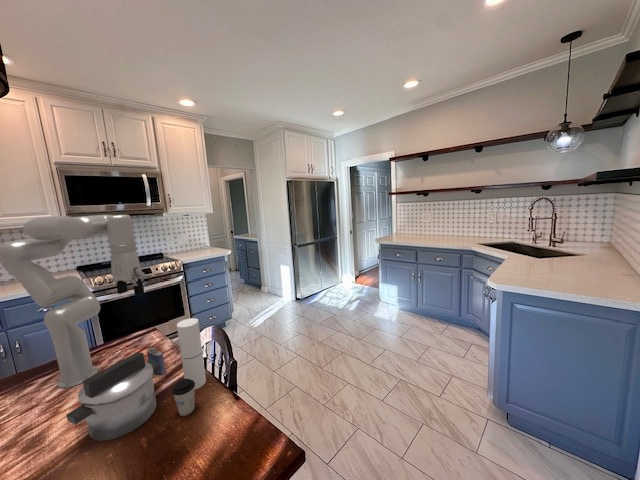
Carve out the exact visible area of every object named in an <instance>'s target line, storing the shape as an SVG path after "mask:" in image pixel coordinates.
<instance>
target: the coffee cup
mask: <svg viewBox="0 0 640 480" xmlns="http://www.w3.org/2000/svg"><path fill="white" fill-rule="evenodd" d="M195 391H196V389H195V382H194V381H193V380H190V379H184V378H182V379H181V380H179V381H178V382H176V383H175V384H174V385H173V387H172V390H171V394H172V395H173V397H174V402H175V405H176V407H177V410H178V413H179V414H178V415H180V416H182V417H184V416H188V415H190V414H191V413H193V411H194V410H195V397H196V396H195V394H196V393H195Z"/></svg>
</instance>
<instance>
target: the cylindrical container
mask: <svg viewBox="0 0 640 480" xmlns="http://www.w3.org/2000/svg"><path fill="white" fill-rule="evenodd" d="M176 329H177V336H178V343H179V348H180V349H179V351H180V357H181V363H182V371H183V377H184V378H183V379H190V380H193V381H194V382H195V390H197V389H200V388H201V387H203V386H205V384H206V382H207V377H206V370H205V363H204V361H205V360H204V355H203V354H204V353H203V348H202V347H203V346H202V340H201V339H202V337H201V331H200V324H199V319H198V318H194V317H191V318H186V319H182V320H181V321H179V322H177V324H176Z"/></svg>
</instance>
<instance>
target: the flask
mask: <svg viewBox="0 0 640 480" xmlns="http://www.w3.org/2000/svg"><path fill="white" fill-rule="evenodd" d="M156 349H157V347H156V346H155V347H150V348H148V349H147V350H146V353H147V354H146V355H147V360H148V361H147V362H148V363H152V362H155V363H158V364H160V366H161V369H160V370H159V371H157V372H156V373H154V374H153V375H158V376H163V375H164V374H165V373H166V366H165V361H164V360H165V359H164V353H163V352H161V351H158V350H156Z"/></svg>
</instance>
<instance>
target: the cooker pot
mask: <svg viewBox="0 0 640 480" xmlns="http://www.w3.org/2000/svg"><path fill="white" fill-rule="evenodd" d="M150 364H151V365H152V367H153V375H155V374H154V373H156V372H157V371H159V370H160V369H161V366H160V364H158V363H155V362H152V363H150ZM153 381H154V380H153V376H152V377H151V378H150V380H149V381H148V382H147V383H146V384H145V385H144V386H142V387H141V388H140V389H138V390H137V391H135V392H134V393H132V394H130V395H128V396H126V397H124V398H122V399H120V400H117V401H114V402H111V403H108V404H104V405H98V406H87V405H83V404H81V405H80V406H78V407H76V408H74V409H73V410H71V411H70V412H68V413H66V414H65V415H66V419H67V422H68V423H71V424H73V425H74V426H76V425H77V424H79V423H81V422H82V421H84V420H85V421H86V426H87V430H88V434H89V437H90V438H91V439H93V440H94V441H98V442H99V441H101V442H103V441H104V442H105V441H109V440H113V439H114V440H115V439H118V438H120V437H122V436H125V435H127V434H130V433H132V432H133V431H134V430H136V429H137V428H139V427H140V426H142V425H144V423H146V421H148V419H150V417H151V416H152V415H153V414H154V412H155V411H156V409H157V398H156V393H155V387H154V382H153Z"/></svg>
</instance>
